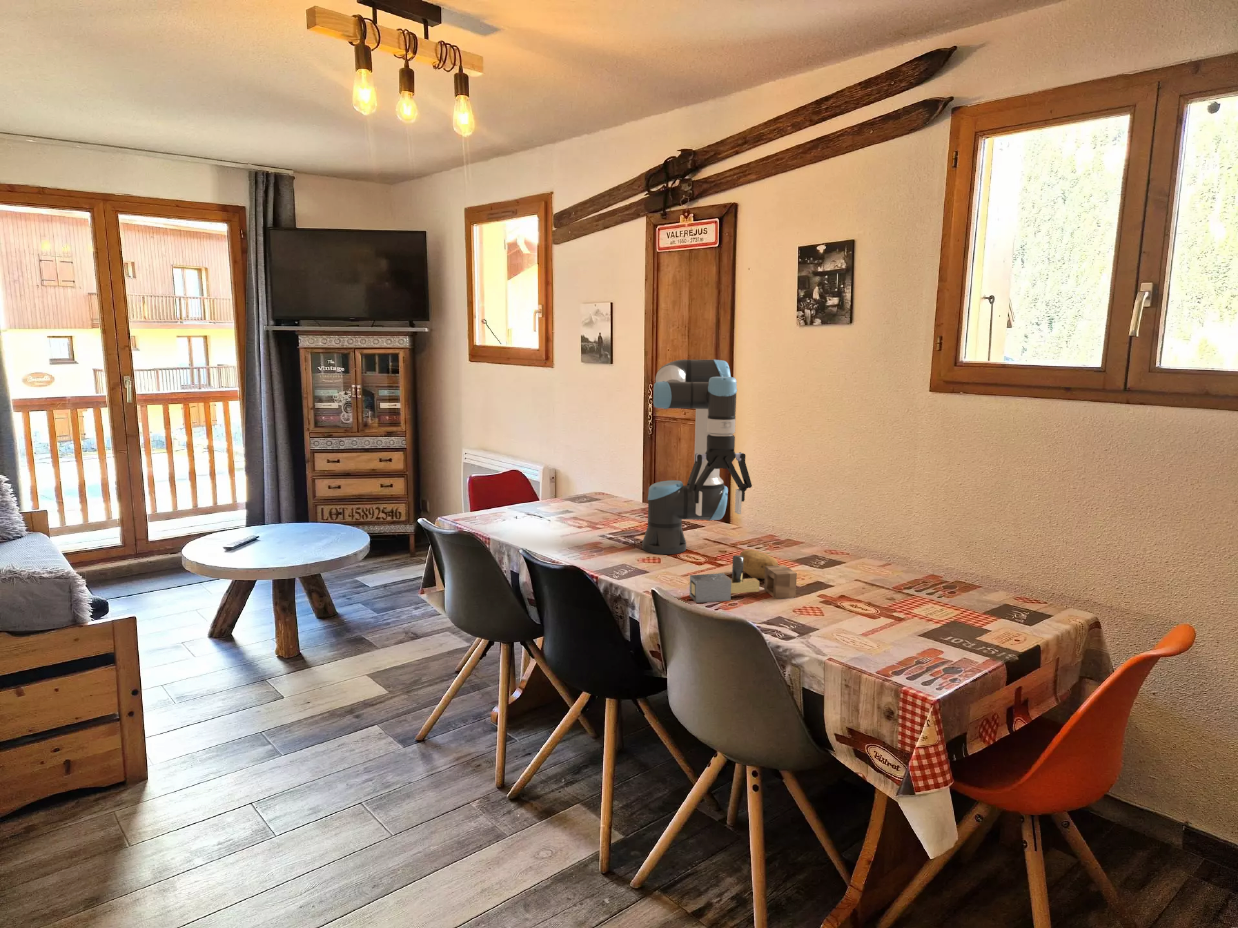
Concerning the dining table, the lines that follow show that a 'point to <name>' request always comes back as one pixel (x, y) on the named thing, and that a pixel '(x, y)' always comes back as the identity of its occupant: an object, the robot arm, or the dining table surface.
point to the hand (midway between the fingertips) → (718, 513)
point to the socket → (780, 581)
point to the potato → (756, 563)
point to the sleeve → (711, 588)
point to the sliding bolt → (738, 579)
